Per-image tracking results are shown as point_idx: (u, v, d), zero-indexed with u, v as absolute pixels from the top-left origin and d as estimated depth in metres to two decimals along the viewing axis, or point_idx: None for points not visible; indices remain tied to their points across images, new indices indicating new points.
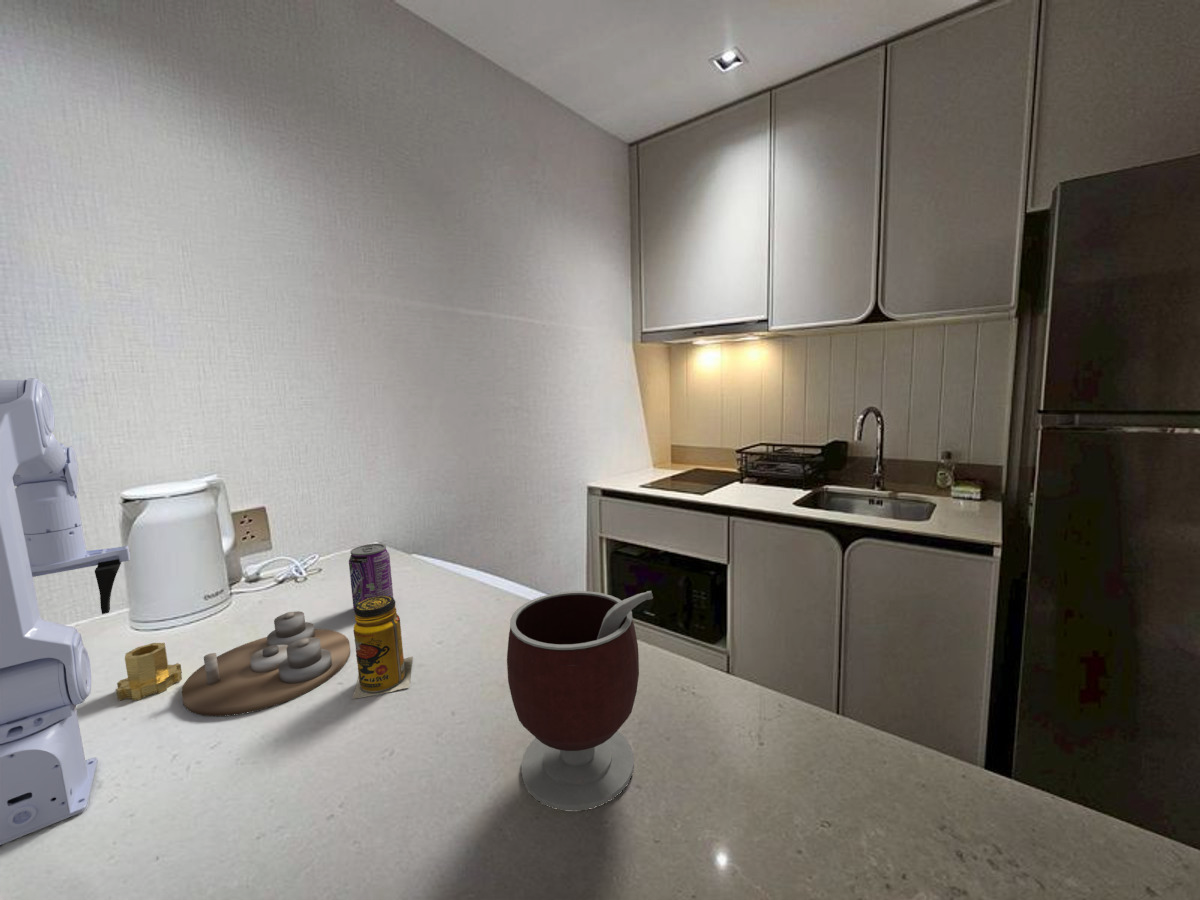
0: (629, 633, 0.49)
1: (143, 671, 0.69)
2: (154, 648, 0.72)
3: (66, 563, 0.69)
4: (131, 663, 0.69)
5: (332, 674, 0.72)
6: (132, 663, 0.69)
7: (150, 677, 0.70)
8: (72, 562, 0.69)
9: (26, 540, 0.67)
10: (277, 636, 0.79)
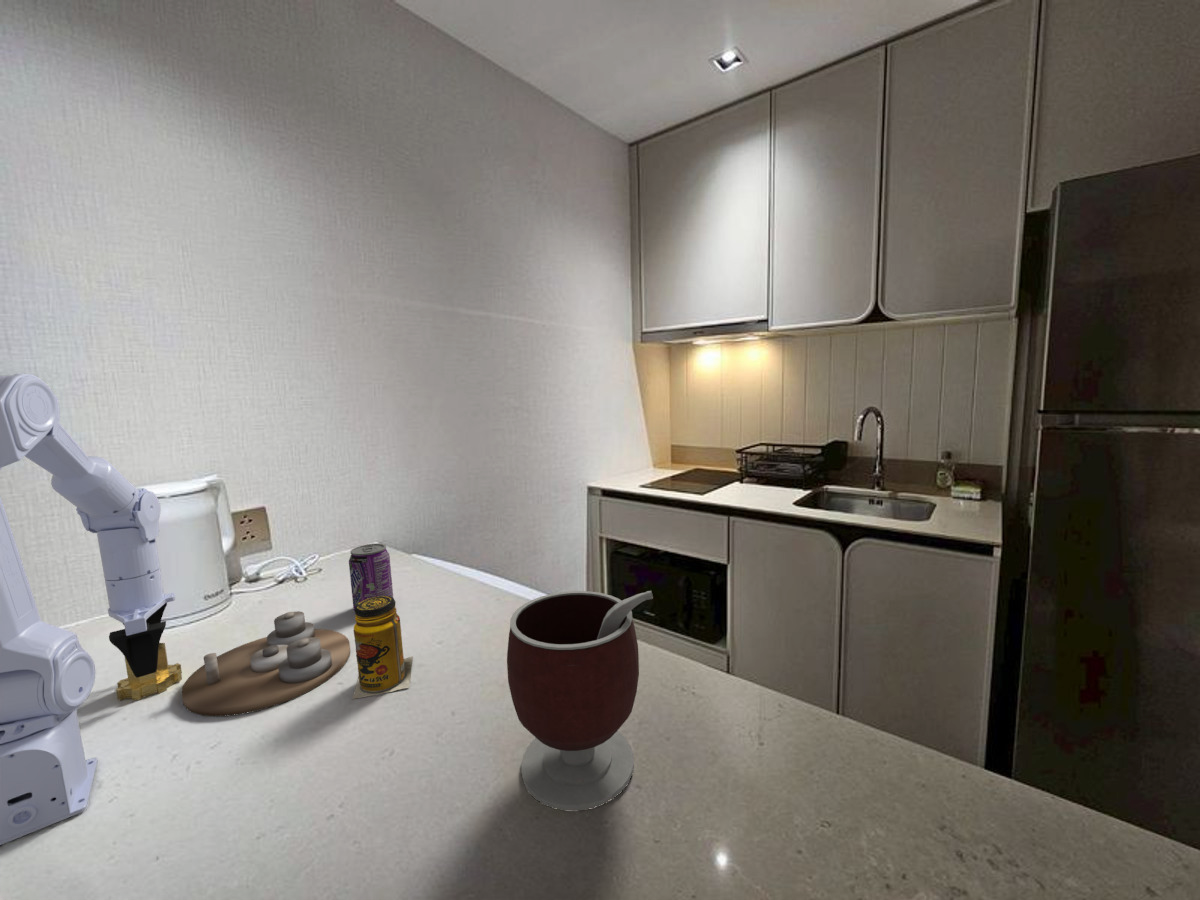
0: (629, 633, 0.49)
1: None
2: None
3: (109, 613, 0.67)
4: None
5: (332, 674, 0.72)
6: None
7: (150, 677, 0.70)
8: (111, 614, 0.67)
9: None
10: (277, 636, 0.79)
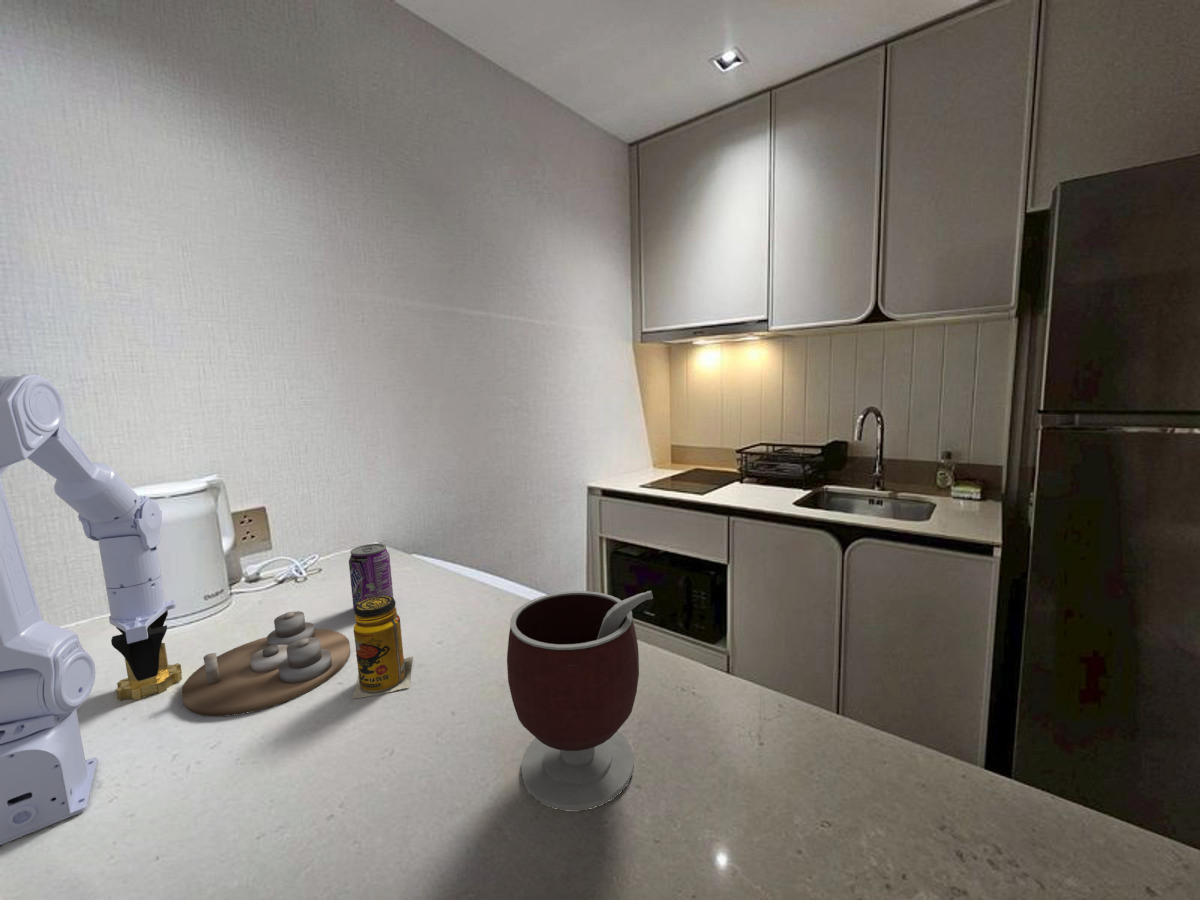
0: (629, 633, 0.49)
1: None
2: None
3: (110, 621, 0.67)
4: None
5: (332, 674, 0.72)
6: None
7: None
8: (112, 622, 0.67)
9: None
10: (277, 636, 0.79)
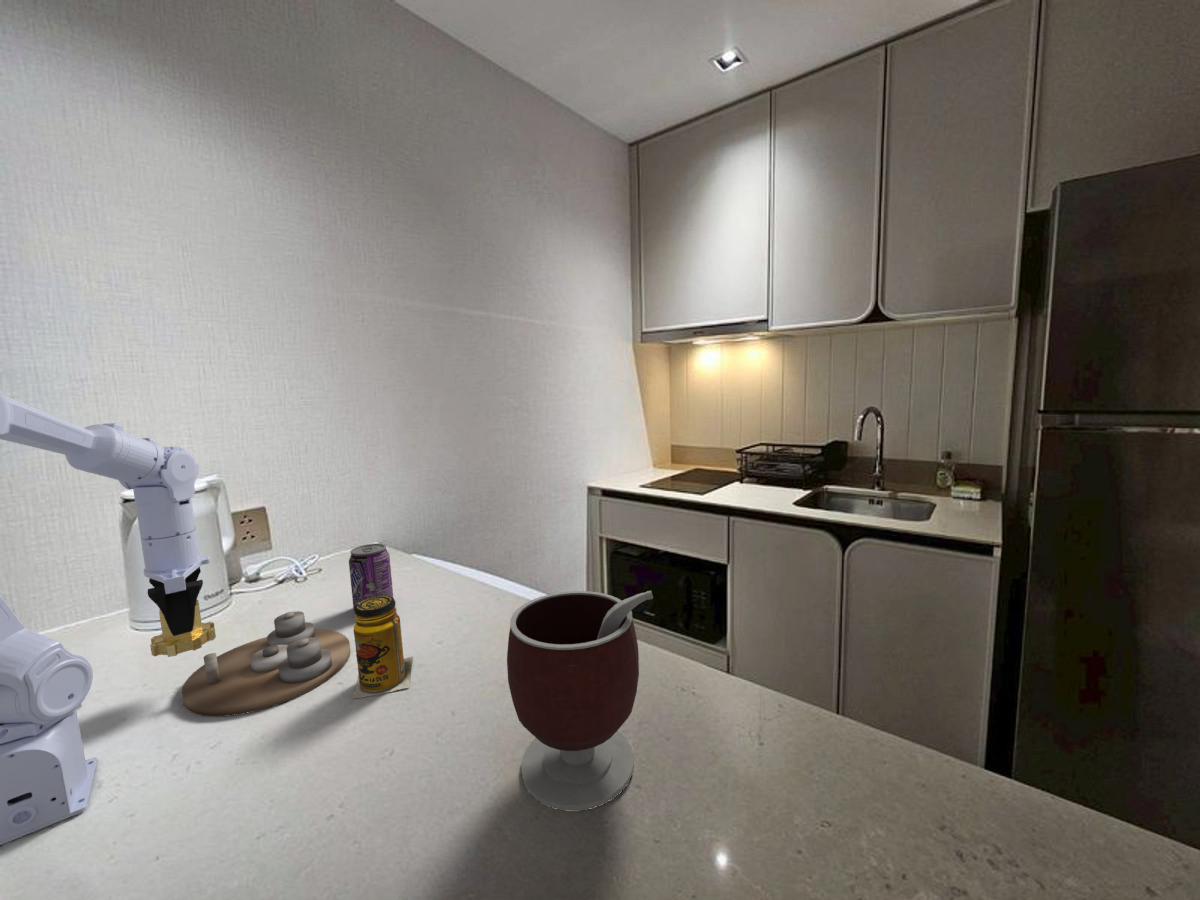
0: (629, 633, 0.49)
1: None
2: None
3: (146, 573, 0.65)
4: None
5: (332, 674, 0.72)
6: None
7: (185, 634, 0.68)
8: (147, 574, 0.65)
9: None
10: (277, 636, 0.79)
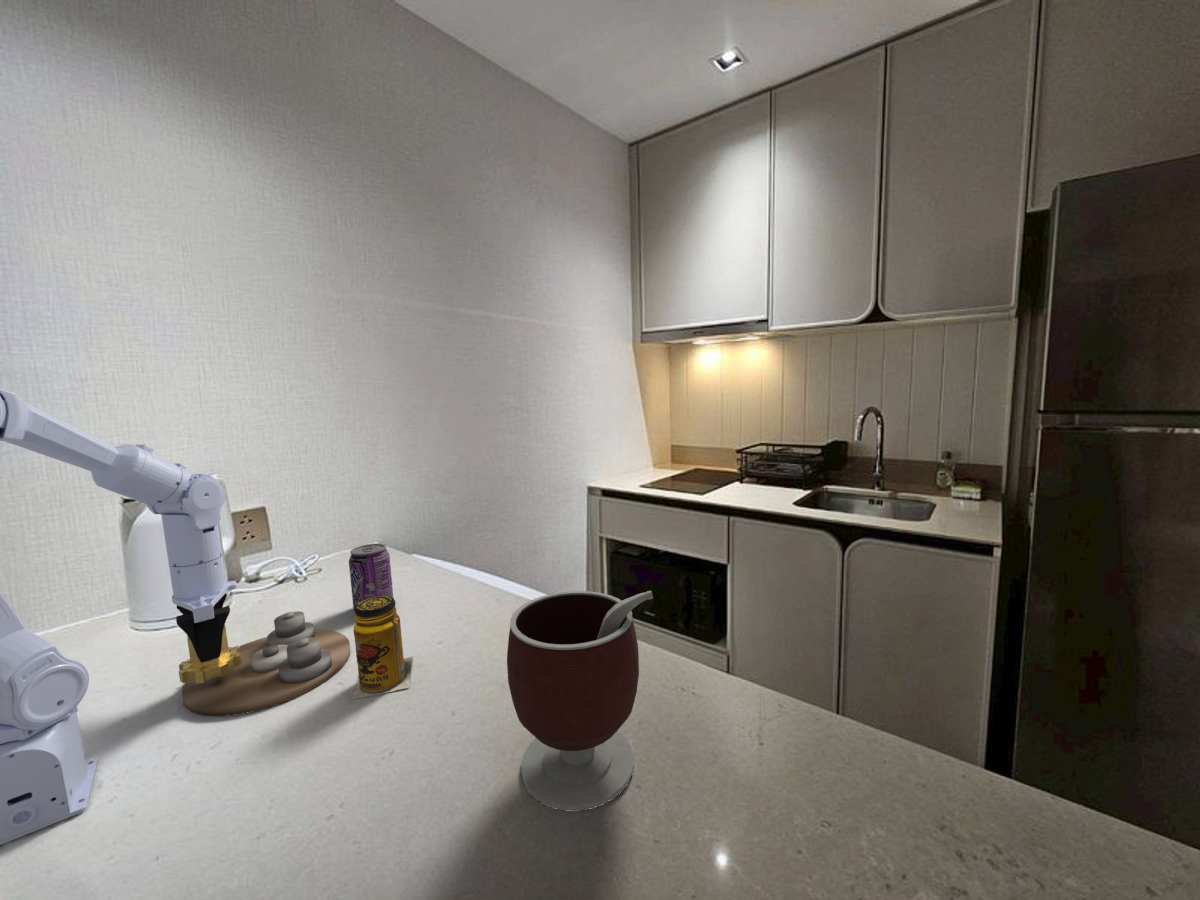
0: (629, 633, 0.49)
1: None
2: None
3: (174, 600, 0.65)
4: None
5: (332, 674, 0.72)
6: None
7: (212, 660, 0.68)
8: (176, 601, 0.65)
9: None
10: (277, 636, 0.79)
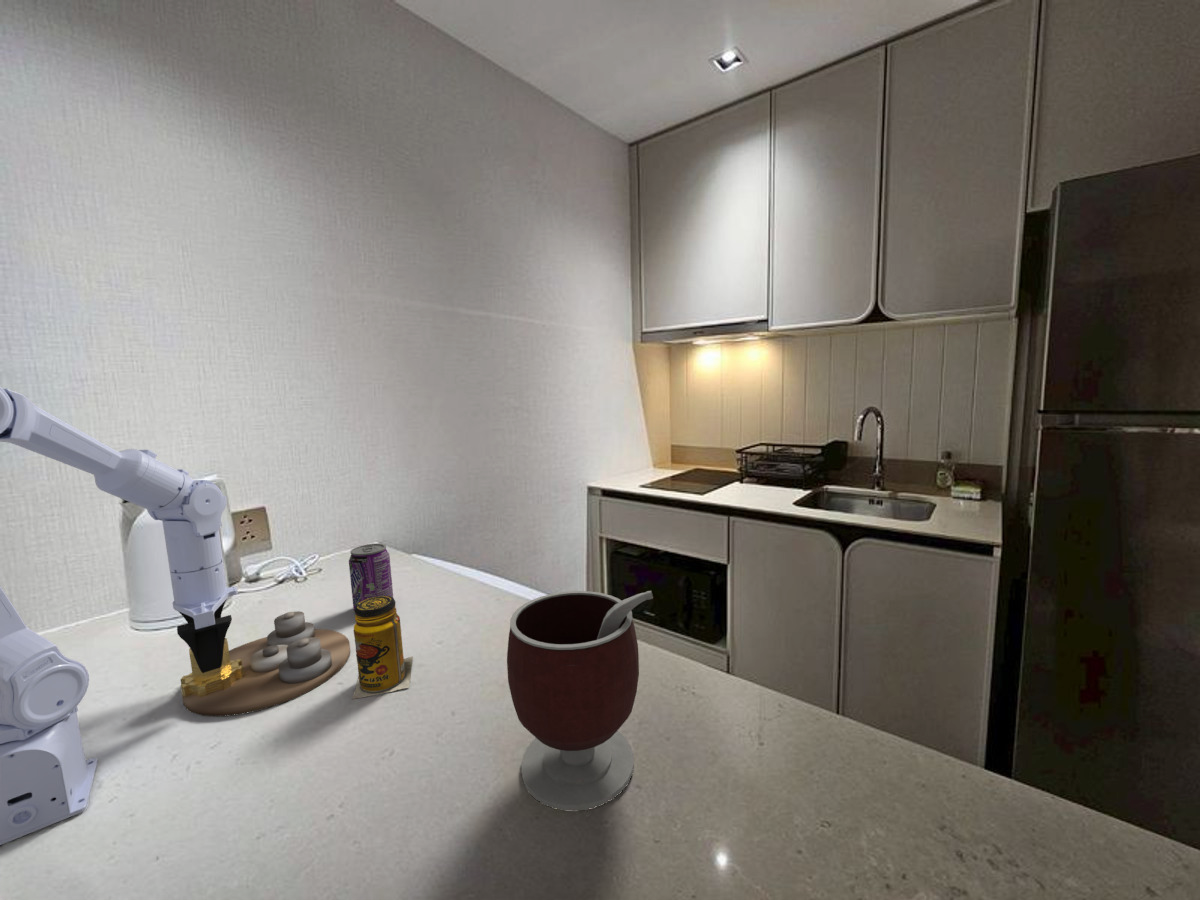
0: (629, 633, 0.49)
1: None
2: None
3: (175, 606, 0.65)
4: None
5: (332, 674, 0.72)
6: None
7: (215, 673, 0.68)
8: (176, 608, 0.65)
9: None
10: (277, 636, 0.79)
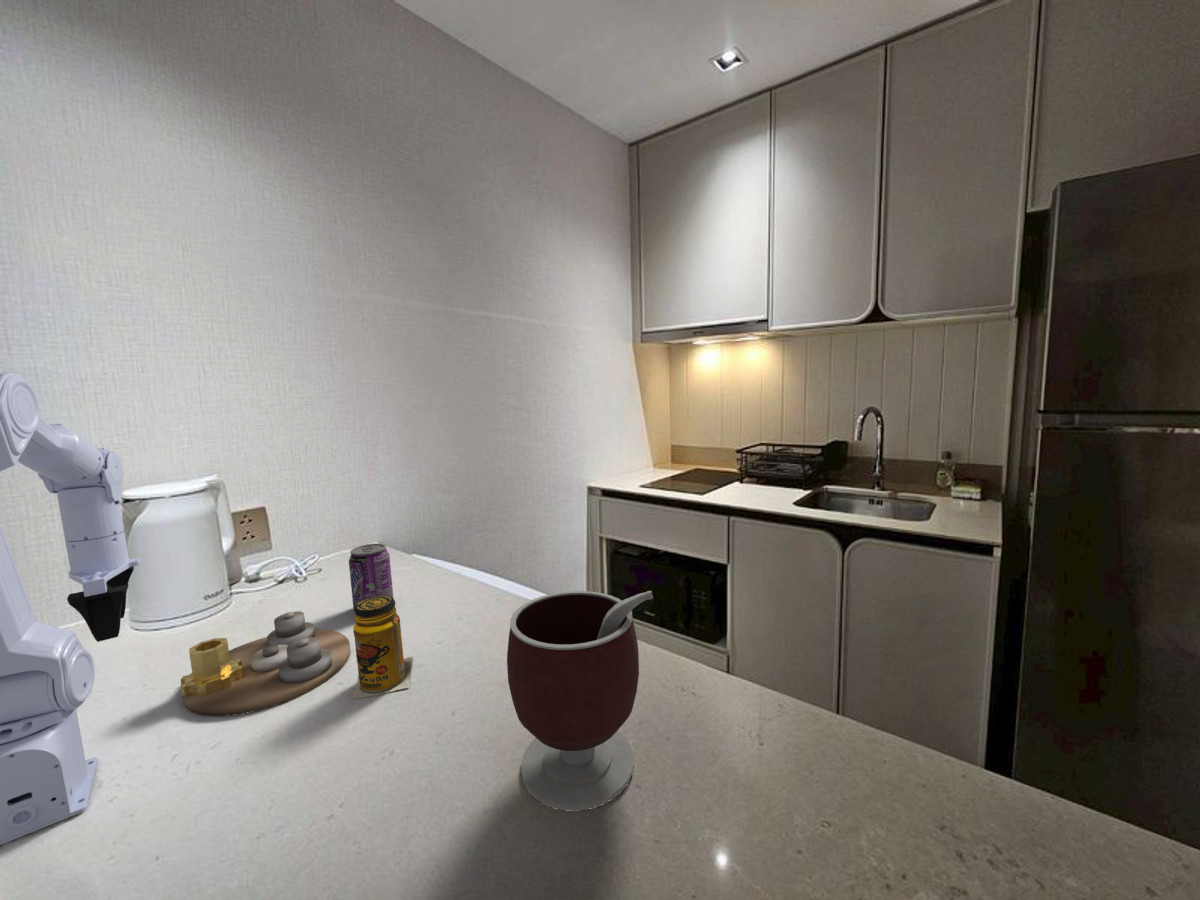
0: (629, 633, 0.49)
1: (208, 667, 0.67)
2: (216, 643, 0.70)
3: (70, 575, 0.65)
4: (196, 658, 0.67)
5: (332, 674, 0.72)
6: (197, 658, 0.67)
7: (215, 673, 0.68)
8: (71, 576, 0.65)
9: None
10: (277, 636, 0.79)
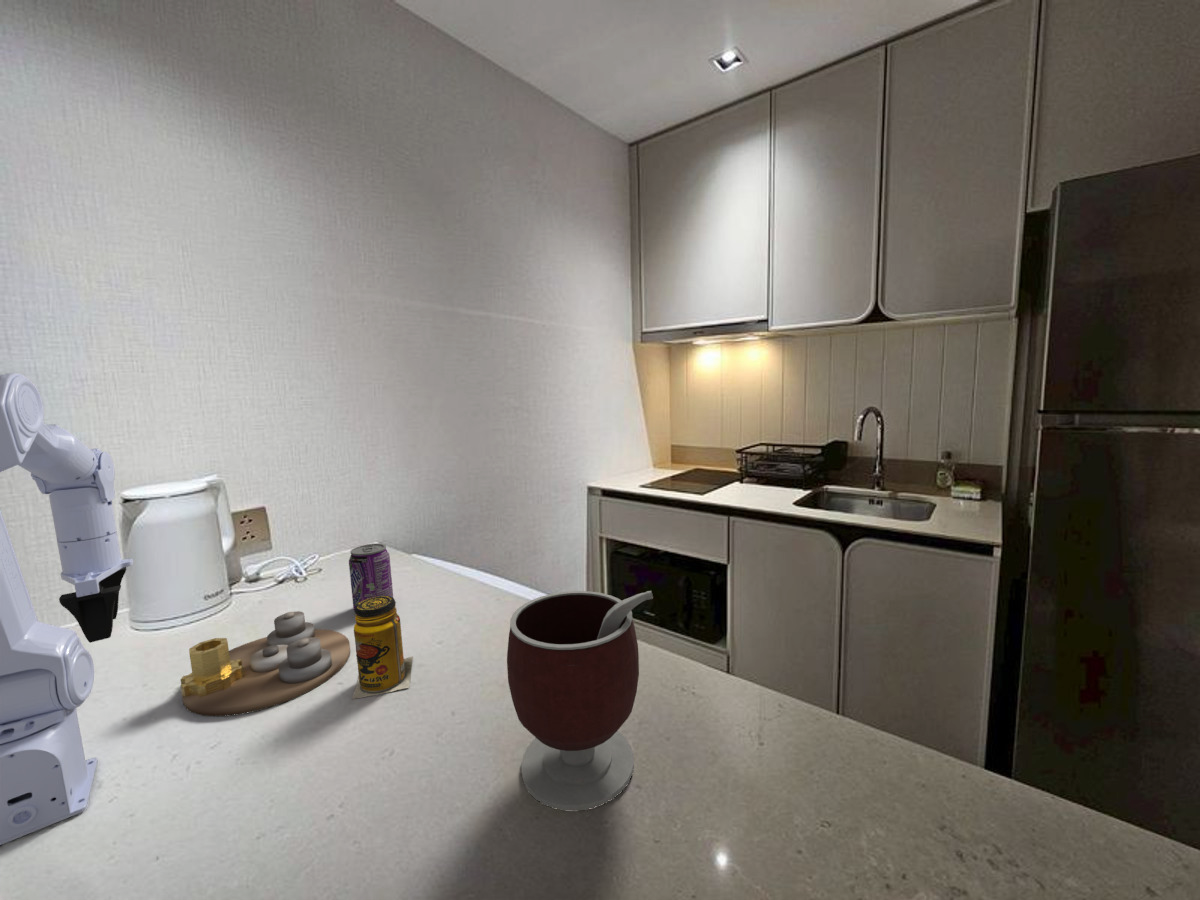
0: (629, 633, 0.49)
1: (208, 667, 0.67)
2: (216, 643, 0.70)
3: (62, 576, 0.65)
4: (196, 658, 0.67)
5: (332, 674, 0.72)
6: (197, 658, 0.67)
7: (215, 673, 0.68)
8: (63, 577, 0.65)
9: None
10: (277, 636, 0.79)
